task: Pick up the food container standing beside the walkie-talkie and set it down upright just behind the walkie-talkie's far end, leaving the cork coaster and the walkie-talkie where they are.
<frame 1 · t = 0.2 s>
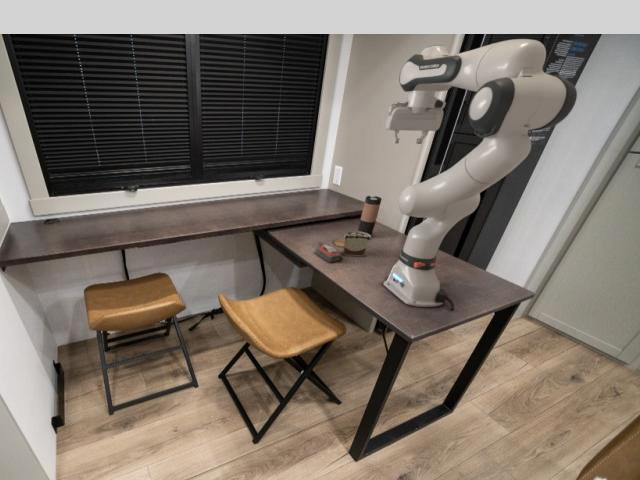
hand: (407, 143, 123), 47 cm above the table, tool pointing down, fingers open, 8 cm apart
travel mug: (364, 235, 167), on the table
cork coaster: (343, 243, 157), on the table
walkie-talkie: (325, 254, 147), on the table
food container: (352, 253, 148), on the table
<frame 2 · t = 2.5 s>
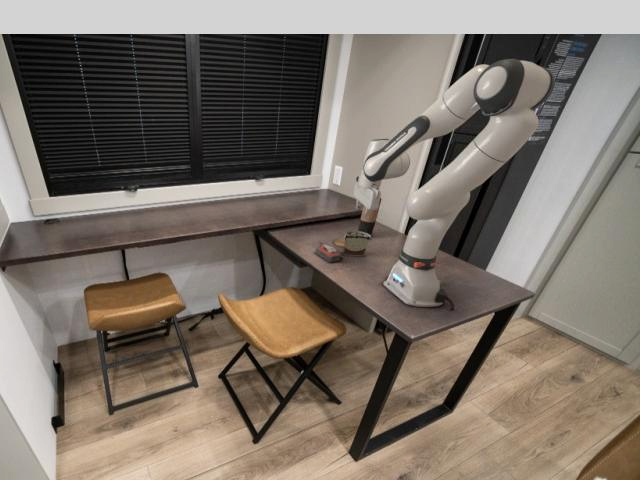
hand: (361, 213, 138), 19 cm above the table, tool pointing down, fingers open, 8 cm apart
nothing on the table moved.
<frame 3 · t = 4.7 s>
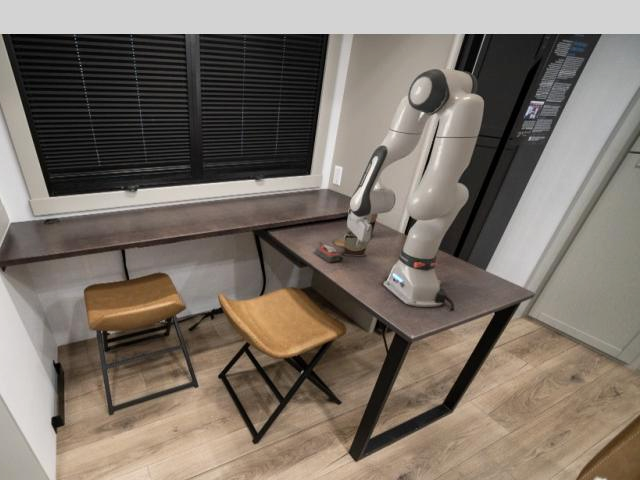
hand: (354, 243, 145), 5 cm above the table, tool pointing down, fingers closed on food container, 5 cm apart
food container: (352, 253, 148), on the table, touching gripper
everything else where it was.
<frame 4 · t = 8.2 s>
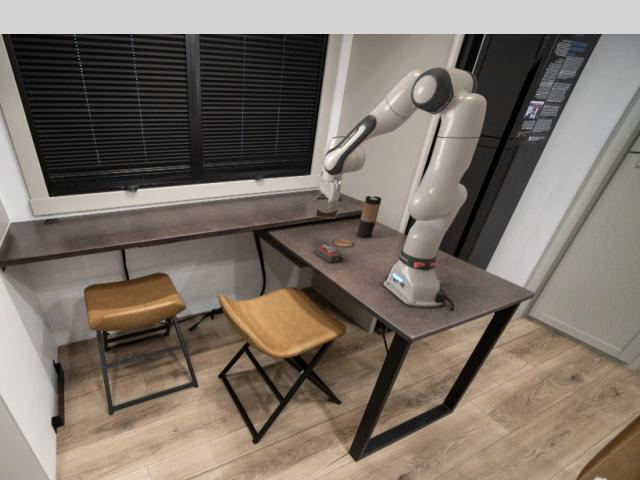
hand: (327, 205, 149), 18 cm above the table, tool pointing down, fingers closed on food container, 5 cm apart
food container: (324, 215, 152), point 13 cm above the table, touching gripper
everything else where it was.
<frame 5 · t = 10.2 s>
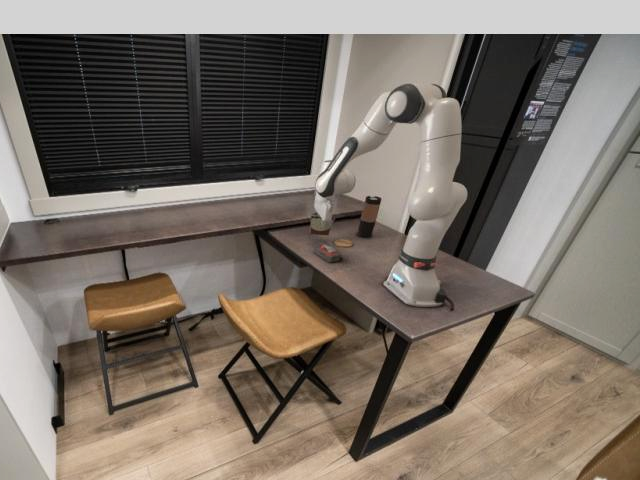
hand: (320, 224, 155), 9 cm above the table, tool pointing down, fingers closed on food container, 5 cm apart
food container: (318, 233, 159), point 3 cm above the table, touching gripper
everything else where it was.
when the fingers open (5 cm above the table, at t = 11.7 s): food container stays where it is, on the table.
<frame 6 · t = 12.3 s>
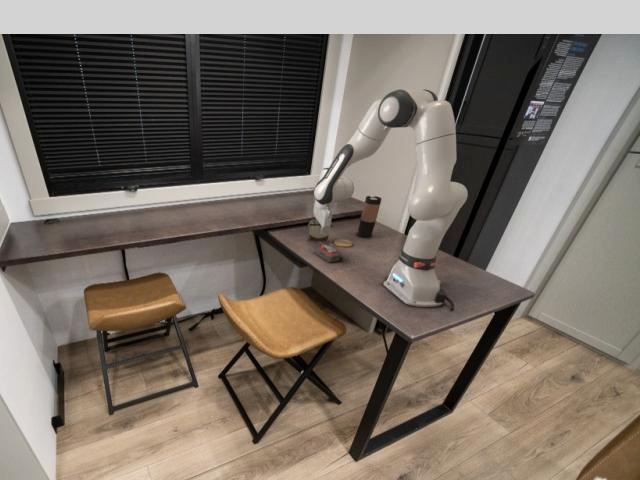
hand: (319, 230, 157), 5 cm above the table, tool pointing down, fingers open, 8 cm apart
food container: (317, 240, 161), on the table
everything else where it was.
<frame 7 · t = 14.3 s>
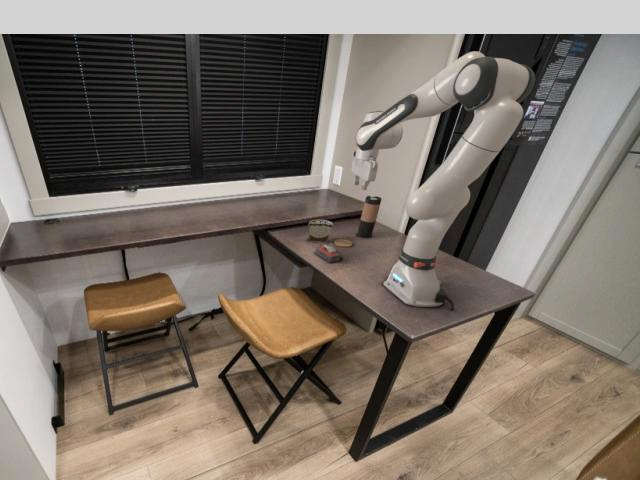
hand: (360, 187, 142), 28 cm above the table, tool pointing down, fingers open, 8 cm apart
nothing on the table moved.
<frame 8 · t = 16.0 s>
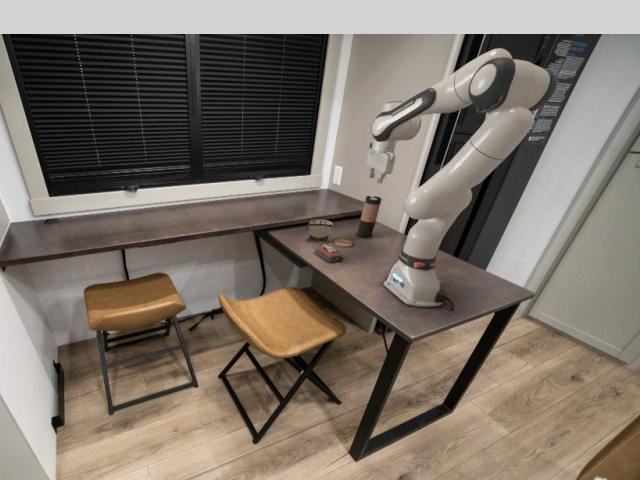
hand: (375, 180, 139), 31 cm above the table, tool pointing down, fingers open, 8 cm apart
nothing on the table moved.
at the end: food container inside the target area on the table beside the walkie-talkie (0.4 cm from its centre), on the table; food container tilted 0°; walkie-talkie moved 0.2 cm from its start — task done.
